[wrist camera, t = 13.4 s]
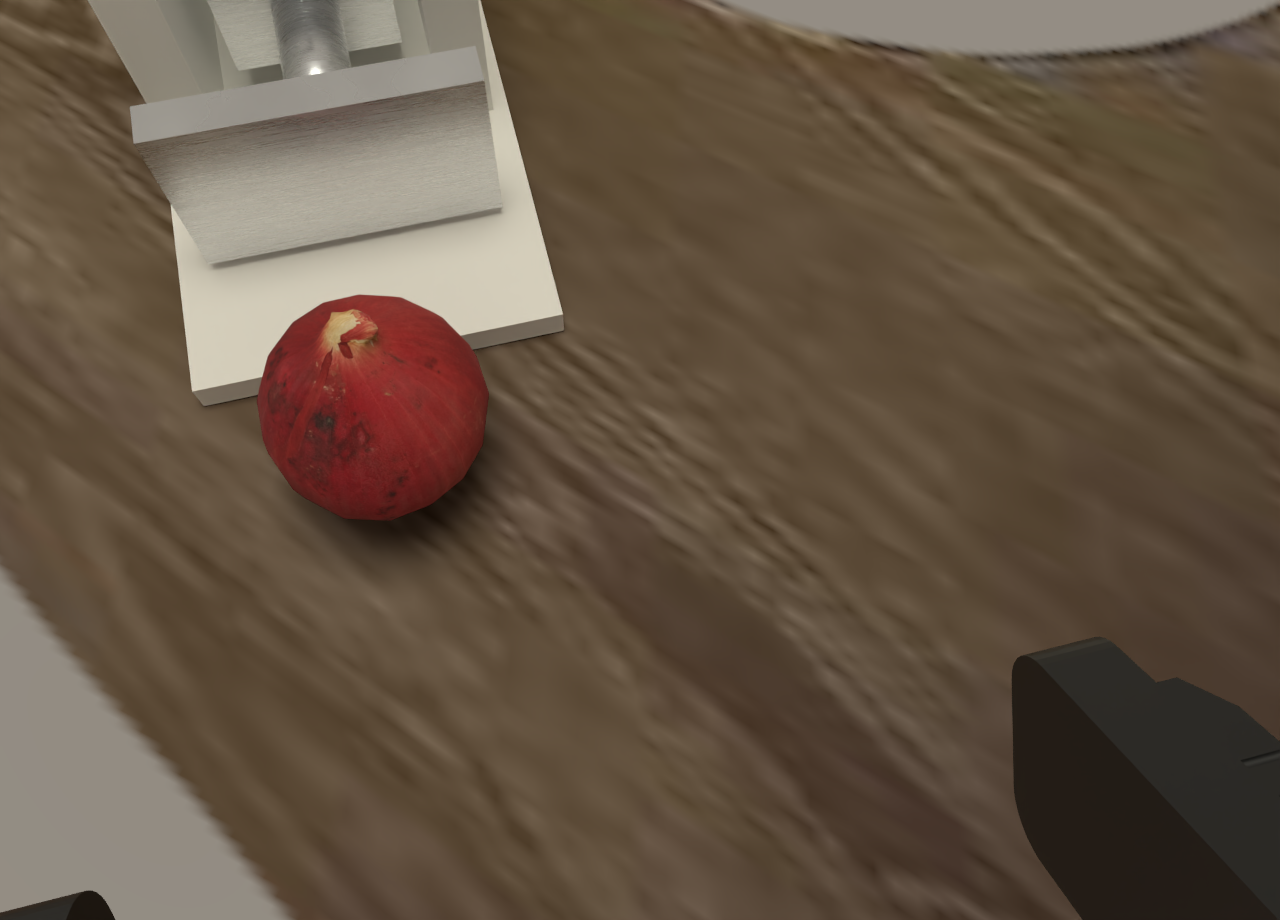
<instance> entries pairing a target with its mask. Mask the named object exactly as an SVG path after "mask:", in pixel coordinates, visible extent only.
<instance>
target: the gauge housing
mask: <svg viewBox="0 0 1280 920" xmlns="http://www.w3.org/2000/svg"><path fill="white" fill-rule="evenodd" d="M88 2H89V4H90V5H91V7H92V9H93V11H94V12H95V14H96V16H97V18H98V19H99V21H100V23H101V25H102V26H103V28H104V30H105V32H106V33H107V35H108V37H109V39H110V40H111V42H112V44H113V46H114V47H115V49H116V51H117V53H118V54H119V56H120V58H121V60H122V61H123V63H124V65H125V67H126V68H127V70H128V72H129V74H130V75H131V77H132V79H133V81H134V82H135V84H136V86H137V88H138V89H139V91H140V93H141V95H142V96H143V98H144V100H145V102H146V103H147V104H148V103H153V102H159V101H165V100H170V99H176V98H182V97H187V96H193V95H199V94H205V93H210V92H216V91H222V90H227V89H233V88H239V87H244V86H250V85H256V84H261V83H267V82H273V81H278V80H283V76H282V70H281V64H275V65H269V66H263V67H258V68H252V69H246V70H240V71H238V70H237V68H236V65H235V63H234V61H233V58H232V56H231V54H230V52H229V49H228V47H227V45H226V42H225V40H224V38H223V36H222V33H221V31H220V29H219V27H218V24H217V22H216V20H215V17H214V15H213V13H212V11H211V8H210V6H209V4H208V1H207V0H88ZM393 3H394V7H395V12H396V16H397V21H398V25H399V30H400V34H401V39H402V42H401V43H395V44H390V45H384V46H378V47H372V48H367V49H361V50H355V51H349V57H350V62H351V67H358V66H364V65H369V64H375V63H381V62H386V61H392V60H398V59H403V58H409V57H415V56H420V55H426V54H432V53H437V52H443V51H449V50H455V49H460V48H466V47H472V46H476V50H477V54H478V58H479V62H480V65H481V69H482V73H483V77H484V81H485V88H486V95H487V102H488V109H489V116H490V123H491V130H492V136H493V143H494V150H495V157H496V164H497V171H498V178H499V184H500V191H501V198H502V205H503V207H501V208H496V209H491V210H486V211H480V212H475V213H470V214H465V215H460V216H455V217H450V218H444V219H439V220H434V221H429V222H424V223H419V224H414V225H409V226H403V227H398V228H393V229H388V230H383V231H378V232H373V233H367V234H362V235H357V236H352V237H347V238H342V239H337V240H332V241H326V242H321V243H316V244H311V245H306V246H301V247H296V248H291V249H285V250H280V251H275V252H270V253H265V254H260V255H255V256H249V257H244V258H239V259H234V260H229V261H224V262H219V263H214V264H208V263H207V262H206V260H205V258H204V257H203V255H202V253H201V252H200V250H199V249H198V247H197V245H196V244H195V242H194V241H193V239H192V237H191V236H190V234H189V232H188V231H187V229H186V228H185V226H184V224H183V223H182V221H181V219H180V218H179V216H178V215H177V213H176V211H175V210H174V208H173V207H172V205H171V212H172V220H173V229H174V238H175V246H176V255H177V264H178V272H179V281H180V290H181V298H182V307H183V315H184V324H185V333H186V341H187V350H188V359H189V367H190V376H191V385H192V392H193V393H194V394H195V396H196V397H197V398H198V399H199V401H200V402H201V403H202V404H203V406H208V405H212V404H217V403H222V402H227V401H231V400H236V399H241V398H246V397H250V396H255V395H258V392H259V387H260V384H261V380H262V376H263V372H264V368H265V365H266V361H267V357H268V355H269V353H270V352H271V351H272V349H273V348H274V346H275V345H276V344H277V342H278V341H279V340H280V338H281V337H282V336H283V334H284V333H285V332H286V330H287V329H288V328H289V326H290V325H291V324H292V322H294V321H295V320H297V319H298V318H300V317H302V316H303V315H305V314H306V313H308V312H309V311H311V310H312V309H314V308H315V307H317V306H319V305H320V304H322V303H324V302H328V301H332V300H337V299H341V298H346V297H350V296H354V295H359V294H361V295H377V296H394V297H402V298H404V299H406V300H408V301H410V302H412V303H414V304H417V305H419V306H421V307H423V308H425V309H427V310H430V311H432V312H434V313H436V314H437V315H439V316H441V317H443V318H444V319H445V320H446V322H447V323H448V324H449V325H450V326H451V327H452V328H453V329H454V330H455V331H456V332H457V333H458V334H459V335H460V336H461V337H462V338H463V339H464V340H465V341H466V342H467V343H468V344H469V345H470V347H471V348H472V350H474V349H478V348H483V347H488V346H493V345H497V344H502V343H507V342H512V341H516V340H521V339H526V338H531V337H536V336H540V335H545V334H550V333H555V332H559V331H564V322H563V313H562V309H561V305H560V301H559V297H558V294H557V290H556V286H555V282H554V278H553V275H552V271H551V267H550V263H549V259H548V256H547V252H546V248H545V244H544V240H543V237H542V233H541V229H540V225H539V221H538V218H537V214H536V210H535V206H534V202H533V199H532V195H531V191H530V187H529V183H528V180H527V176H526V172H525V168H524V165H523V161H522V157H521V153H520V149H519V146H518V142H517V138H516V134H515V130H514V127H513V123H512V119H511V115H510V111H509V108H508V104H507V100H506V96H505V92H504V89H503V85H502V81H501V77H500V73H499V70H498V66H497V62H496V58H495V54H494V51H493V47H492V43H491V39H490V35H489V32H488V28H487V24H486V20H485V16H484V13H483V9H482V5H481V1H480V0H393Z"/></svg>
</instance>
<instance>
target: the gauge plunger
mask: <svg viewBox="0 0 1280 920" xmlns="http://www.w3.org/2000/svg"><path fill="white" fill-rule="evenodd" d="M207 1H208V4H209V6H210V8H211V11H212V13H213V15H214V17H215V20H216V22H217V24H218V27H219V29H220V31H221V33H222V36H223V38H224V40H225V42H226V45H227V47H228V49H229V52H230V54H231V56H232V58H233V61H234V63H235V65H236V68H237V70H238V71H240V70H246V69H252V68H258V67H263V66H269V65H275V64H281V70H282V76H283V80H278V81H273V82H267V83H261V84H256V85H250V86H244V87H239V88H233V89H227V90H222V91H216V92H210V93H205V94H199V95H193V96H187V97H182V98H176V99H170V100H165V101H159V102H153V103H148V104H142V105H136V106H131V107H130V113H131V122H132V132H133V142H134V145H135V147H136V148H137V150H138V151H139V153H140V155H141V156H142V158H143V160H144V161H145V163H146V164H147V166H148V168H149V169H150V171H151V173H152V174H153V176H154V177H155V179H156V181H157V182H158V184H159V185H160V187H161V189H162V190H163V192H164V194H165V195H166V197H167V198H168V200H169V202H170V203H171V205H172V207H173V208H174V210H175V211H176V213H177V215H178V216H179V218H180V219H181V221H182V223H183V224H184V226H185V228H186V229H187V231H188V232H189V234H190V236H191V237H192V239H193V241H194V242H195V244H196V245H197V247H198V249H199V250H200V252H201V253H202V255H203V257H204V258H205V260H206V262H207V263H208V264H214V263H219V262H224V261H229V260H234V259H239V258H244V257H249V256H255V255H260V254H265V253H270V252H275V251H280V250H285V249H291V248H296V247H301V246H306V245H311V244H316V243H321V242H326V241H332V240H337V239H342V238H347V237H352V236H357V235H362V234H367V233H373V232H378V231H383V230H388V229H393V228H398V227H403V226H409V225H414V224H419V223H424V222H429V221H434V220H439V219H444V218H450V217H455V216H460V215H465V214H470V213H475V212H480V211H486V210H491V209H496V208H501V207H503V205H502V198H501V191H500V184H499V178H498V171H497V164H496V157H495V150H494V143H493V136H492V130H491V123H490V116H489V109H488V102H487V95H486V88H485V81H484V77H483V73H482V69H481V65H480V62H479V58H478V54H477V50H476V46H472V47H466V48H460V49H455V50H449V51H443V52H437V53H432V54H426V55H420V56H415V57H409V58H403V59H398V60H392V61H386V62H381V63H375V64H369V65H364V66H358V67H351V62H350V57H349V51H355V50H361V49H367V48H372V47H378V46H384V45H390V44H395V43H401V42H402V39H401V34H400V30H399V25H398V21H397V16H396V12H395V7H394V3H393V0H207Z"/></svg>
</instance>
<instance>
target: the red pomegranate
mask: <svg viewBox="0 0 1280 920" xmlns="http://www.w3.org/2000/svg"><path fill="white" fill-rule="evenodd" d="M488 398H489V392H488V389H487V386H486V383H485V380H484V377H483V374H482V371H481V368H480V365H479V362H478V359H477V356H476V355H475V353H474V351H473V350H472V348H471V347H470V345H469V344H468V343H467V342H466V341H465V340H464V339H463V338H462V337H461V336H460V335H459V334H458V333H457V332H456V331H455V330H454V329H453V328H452V327H451V326H450V325H449V324H448V323H447V322H446V320H445V319H444V318H443V317H441V316H439V315H437V314H436V313H434V312H432V311H430V310H427V309H425V308H423V307H421V306H419V305H417V304H414V303H412V302H410V301H408V300H406V299H404V298H402V297H394V296H377V295H361V294H359V295H354V296H350V297H346V298H341V299H337V300H332V301H328V302H324V303H322V304H320V305H319V306H317V307H315V308H314V309H312V310H311V311H309V312H308V313H306V314H305V315H303V316H302V317H300V318H298V319H297V320H295V321H294V322H292V324H291V325H290V326H289V328H288V329H287V330H286V332H285V333H284V334H283V336H282V337H281V338H280V340H279V341H278V342H277V344H276V345H275V346H274V348H273V349H272V351H271V352H270V353H269V355H268V357H267V361H266V365H265V368H264V372H263V376H262V380H261V384H260V387H259V392H258V398H257V405H258V411H259V417H260V424H261V430H262V436H263V441H264V444H265V446H266V449H267V451H268V454H269V455H270V457H271V458H272V459H273V461H274V462H275V464H276V465H277V467H278V468H279V470H280V471H281V473H282V474H283V475H284V477H285V478H286V480H287V481H288V483H289V484H290V486H291V487H292V489H293V490H295V491H296V492H297V493H299V494H300V495H301V496H303V497H304V498H306V499H308V500H310V501H311V502H313V503H315V504H317V505H319V506H321V507H323V508H325V509H327V510H329V511H331V512H333V513H334V514H336V515H338V516H340V517H342V518H344V519H365V520H389V521H391V520H393V519H396V518H398V517H401V516H403V515H406V514H408V513H411V512H414V511H416V510H419V509H421V508H424V507H426V506H429V505H431V504H433V503H434V502H435V501H436V500H438V499H439V498H440V497H441V496H442V495H444V494H445V493H446V492H447V491H449V490H450V489H451V488H452V487H453V486H455V485H456V484H457V483H458V482H460V481H461V480H462V479H463V478H464V476H465V475H466V473H467V471H468V469H469V468H470V466H471V464H472V462H473V461H474V459H475V457H476V456H477V454H478V452H479V450H480V449H481V447H482V445H483V438H484V430H485V422H486V414H487V406H488Z"/></svg>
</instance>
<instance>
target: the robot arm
mask: <svg viewBox="0 0 1280 920" xmlns="http://www.w3.org/2000/svg"><path fill="white" fill-rule="evenodd" d="M1012 716H1013V766H1014V793H1015V800H1016V804H1017V809H1018V813H1019V816H1020V819H1021V822H1022V825H1023V828H1024V830H1025V833H1026V835H1027V838H1028V840H1029V842H1030V844H1031V846H1032V848H1033V850H1034V851H1035V853H1036V855H1037V857H1038V858H1039V860H1040V861H1041V863H1042V864H1043V865H1044V867H1045V868H1046V870H1047V871H1048V872H1049V874H1050V875H1051V877H1052V878H1053V879H1054V881H1055V882H1056V883H1057V885H1058V886H1059V888H1060V889H1061V890H1062V892H1063V893H1064V895H1065V896H1066V897H1067V899H1068V900H1069V901H1070V903H1071V904H1072V906H1073V907H1074V908H1075V910H1076V911H1077V913H1078V914H1079V915H1080V917H1081V918H1082V919H1083V920H1280V742H1279V741H1278V740H1277V739H1276V738H1275V737H1274V736H1272V735H1271V734H1270V733H1269V732H1268V731H1267V730H1266V729H1264V728H1263V727H1262V726H1261V725H1260V724H1259V723H1257V722H1256V721H1255V720H1254V719H1253V718H1252V717H1250V716H1249V715H1248V714H1247V713H1246V712H1245V711H1243V710H1242V709H1241V708H1240V707H1239V706H1237V705H1235V704H1232V703H1230V702H1228V701H1226V700H1224V699H1222V698H1220V697H1217V696H1215V695H1213V694H1211V693H1209V692H1207V691H1205V690H1203V689H1200V688H1198V687H1196V686H1194V685H1192V684H1190V683H1188V682H1185V681H1183V680H1181V679H1179V678H1173V679H1169V680H1165V681H1162V682H1158V683H1156V682H1155V681H1154V680H1153V679H1152V678H1151V677H1150V676H1148V675H1147V674H1146V673H1145V672H1144V671H1143V670H1142V669H1141V668H1140V667H1139V666H1138V665H1137V664H1135V663H1134V662H1133V661H1132V660H1131V659H1130V658H1129V657H1128V656H1127V655H1126V654H1125V653H1124V652H1123V651H1121V650H1120V649H1119V648H1118V647H1117V646H1116V645H1115V644H1113V643H1112V642H1111V641H1109V640H1107V639H1106V638H1102V637H1094V638H1090V639H1086V640H1082V641H1078V642H1074V643H1070V644H1066V645H1062V646H1058V647H1054V648H1050V649H1046V650H1042V651H1039V652H1035V653H1031V654H1027V655H1023V656H1020V657H1018V658H1017V660H1016V661H1015V663H1014V666H1013V670H1012ZM0 920H115V918H114V916H113V914H112V912H111V910H110V908H109V906H108V905H107V903H106V901H105V900H104V899H103V898H102V896H100V895H99V894H98V893H97V892H94V891H84V892H80V893H76V894H72V895H69V896H64V897H60V898H56V899H52V900H48V901H44V902H41V903H36V904H33V905H29V906H25V907H21V908H17V909H13V910H9V911H5V912H1V913H0Z"/></svg>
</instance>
